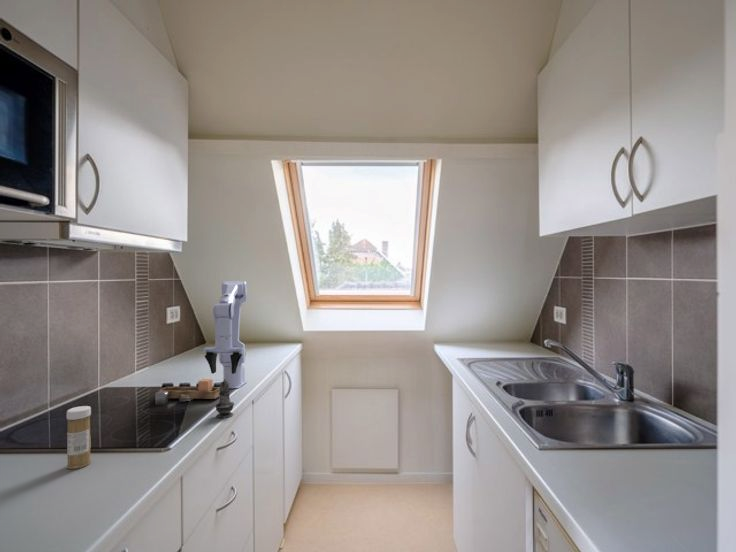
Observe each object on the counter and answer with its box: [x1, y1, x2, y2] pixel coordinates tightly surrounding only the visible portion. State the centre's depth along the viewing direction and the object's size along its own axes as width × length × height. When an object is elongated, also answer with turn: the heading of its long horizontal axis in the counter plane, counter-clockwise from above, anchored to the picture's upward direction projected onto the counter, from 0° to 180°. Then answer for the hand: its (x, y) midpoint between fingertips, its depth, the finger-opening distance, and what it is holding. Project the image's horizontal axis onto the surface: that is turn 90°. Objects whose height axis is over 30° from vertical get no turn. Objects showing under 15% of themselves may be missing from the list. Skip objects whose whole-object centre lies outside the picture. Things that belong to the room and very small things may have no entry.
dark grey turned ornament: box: [214, 378, 235, 419], centre depth 122 cm, size 6×6×12 cm
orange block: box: [197, 378, 213, 391], centre depth 140 cm, size 4×3×4 cm
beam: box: [155, 386, 220, 403], centre depth 140 cm, size 22×7×4 cm, turn 86°
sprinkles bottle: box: [66, 405, 92, 470], centre depth 89 cm, size 5×5×14 cm
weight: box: [154, 391, 169, 407], centre depth 135 cm, size 4×4×4 cm
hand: (223, 373), depth 138 cm, fingers open, 7 cm apart
